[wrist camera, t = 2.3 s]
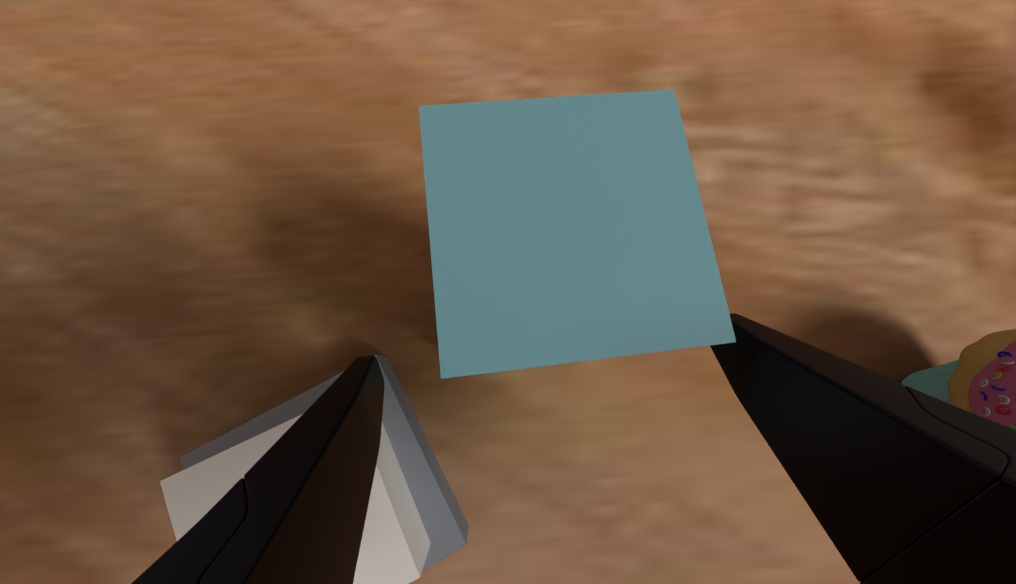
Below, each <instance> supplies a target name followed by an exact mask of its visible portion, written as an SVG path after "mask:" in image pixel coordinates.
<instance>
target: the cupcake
mask: <svg viewBox="0 0 1016 584" xmlns="http://www.w3.org/2000/svg"><path fill="white" fill-rule="evenodd" d="M901 384H903V385H904V386H909V387H911V388H913V389H916V390H918V391H920V392H923V393H925V394H927V395H930V396H932V397H935V398H937V399H939V400H942V401H944V402H947V403H949V404H952V405H954V406H956V407H959V408H961V409H964V410H966V411H969V412H972V413H974V414H977V415H979V416H982V417H984V418H987V419H990V420H992V421H995V422H997V423H1000V424H1003V425H1005V426H1008V427H1010V428H1013V429H1016V329H1014V330H1005V331H1000V332H995V333H991V334H988V335H986V336H985V337H983V338H982V339H980V340H979V341H977V342H975V343H973V344H971V345H969V346H967V347H966V348H964V349H963V351H962V352H961V354H960V358H959V360H956V361H953V362H950V363H947V364H944V365H940V366H937V367H933V368H929V369H925V370H920V371H917V372H914V373H912V374H910V375H908V376H907V377H906V378H905V379H904V380H903V381H902V382H901Z"/></svg>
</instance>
